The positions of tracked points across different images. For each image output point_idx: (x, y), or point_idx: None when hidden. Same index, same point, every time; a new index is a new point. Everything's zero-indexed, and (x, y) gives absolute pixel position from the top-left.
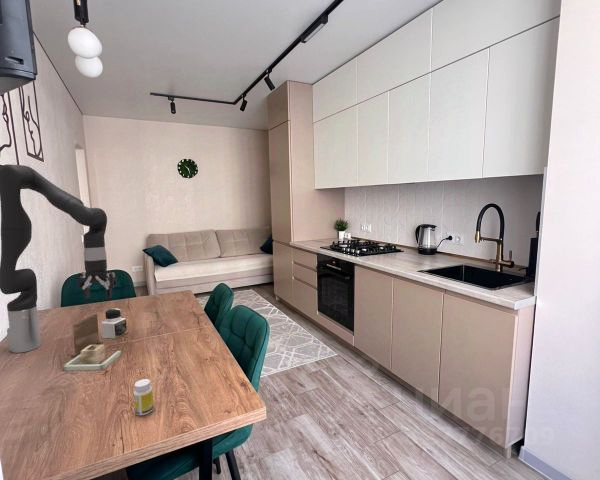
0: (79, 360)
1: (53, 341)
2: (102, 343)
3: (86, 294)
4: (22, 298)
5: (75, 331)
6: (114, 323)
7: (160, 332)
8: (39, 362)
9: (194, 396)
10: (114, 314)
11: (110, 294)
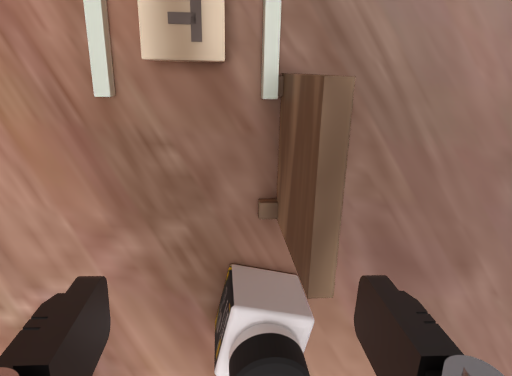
0: (262, 37)
1: (483, 245)
2: (258, 212)
3: (383, 306)
4: None
5: (324, 75)
6: (234, 308)
7: None
8: (433, 36)
9: None
10: (245, 358)
11: (34, 326)
